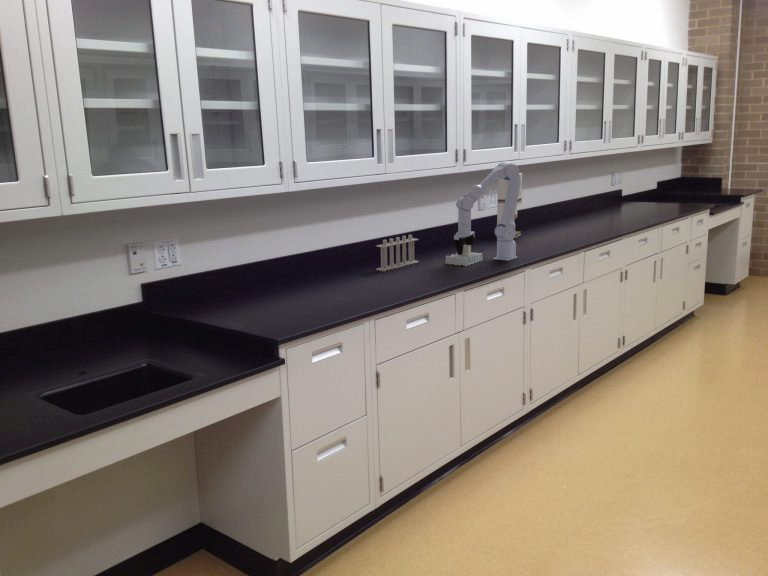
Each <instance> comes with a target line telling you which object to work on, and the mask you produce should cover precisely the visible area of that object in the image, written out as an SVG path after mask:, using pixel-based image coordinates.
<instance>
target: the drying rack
mask: <svg viewBox="0 0 768 576" xmlns="http://www.w3.org/2000/svg"><path fill="white" fill-rule="evenodd" d="M483 254H484V253H479V252H472V251H471V256H463V255H457V252H456V253H455V254H450V255H446V256H445V264H446V265H452V264H453V265H454V266H461V265H463V267H468V265H469V266H472V265H474V263H475V264H478V263H481V262H483V261H484V258H483V257H484V255H483ZM477 262H478V263H477ZM471 264H472V265H471Z"/></svg>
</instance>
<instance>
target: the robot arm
mask: <svg viewBox="0 0 768 576" xmlns="http://www.w3.org/2000/svg"><path fill="white" fill-rule="evenodd" d="M519 173H520V168H519V167H518V166H517V164H515V163H512V162H511V163H508V162H499V164H497V166H495V167H493V169H492V171H491V172H489V174H488V175H487V176H486V177H485V178H484V179H483V180H482V181H481V182H479V183H480V184H474V185H472V186H470V189H469V190H468V191H467V192H466V193H464V194H463V196H461V197H458V199H457V200H456V203H455V207H456V208H457V211H458V214H457V215H458V216H457V218H458V219H457V223H458V224H457V225H458V226H457V227H458V228H457V229H458V230H457V232H456V233H455V234H454V235H453V239H452V242H453V244H454V246H455V250H456V253H457V254H458V255H462V254H463V246H464V245H471V251H472V249H473V246H474V242H475V241H476V239H477V236H476V235H475V233H476V232H475V231H473V230H472V209H473V208H474V204H475V203H477V201H478V200H480V198H482V196H484V195H485V191H486V189H488V187H490V186H491V185H492V184H493V183H494V182H495V181H498V179H501V178H503V179H505V181H506V182H507V183H508V189H507V194H506V199H505V204H504V209H503V214H502V218H501V219H500V221H499V222H498V225H497V224H496V227H495V229H494V234H495V237H496V257H493V258H492V259H493V260H499V261H507V262H509V261H512V260H514V259H515V260H516V259H517V258H518V256H516V254H517V243H516V241H515V240H514V239H515V238H514V237H515V235H516V231H517V230H516V223H515V219H514V214H515V209H516V204H517V200H518V195H519V190H520V185H521V180H520V176H519ZM513 219H514V221H513Z"/></svg>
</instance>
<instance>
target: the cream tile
mask: <svg viewBox="0 0 768 576" xmlns="http://www.w3.org/2000/svg"><path fill="white" fill-rule="evenodd" d="M471 252H472V250H471V245H466V244H464V246H463V254H462V255H463V256H471ZM457 255H458V254H457Z"/></svg>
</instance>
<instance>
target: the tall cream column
mask: <svg viewBox="0 0 768 576" xmlns="http://www.w3.org/2000/svg"><path fill="white" fill-rule="evenodd" d="M519 176H520V180H521V185H520V190H519V195H518V200H517V204H516V209H515V214H514V219H513V221H514V222H515V220H516V219H517V218H518V206H520V205H522V204H523V203H522V199H523V196H522V193H523V172H519ZM507 189H508V183H507V182H506V181H505V179H503V178H501V179H497V211H496V212H497V213H496V217H497V219H496V226H497V225H498V222H499V221H500V219H501V218H502V214H503V209H504V204H505V199H506V194H507ZM515 231H516V235H515V237H514V238H513V239H517V238H519V237H521V235H522V233H521V232H522V231H517V230H515Z"/></svg>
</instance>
